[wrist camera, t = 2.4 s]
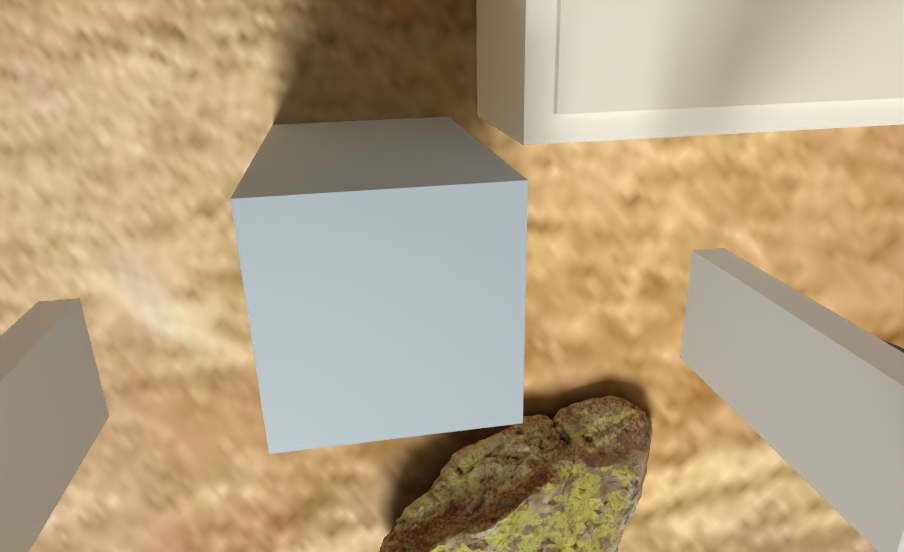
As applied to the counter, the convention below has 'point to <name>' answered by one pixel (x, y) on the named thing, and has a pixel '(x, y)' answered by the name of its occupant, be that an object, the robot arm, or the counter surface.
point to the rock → (536, 486)
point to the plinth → (686, 67)
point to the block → (382, 281)
